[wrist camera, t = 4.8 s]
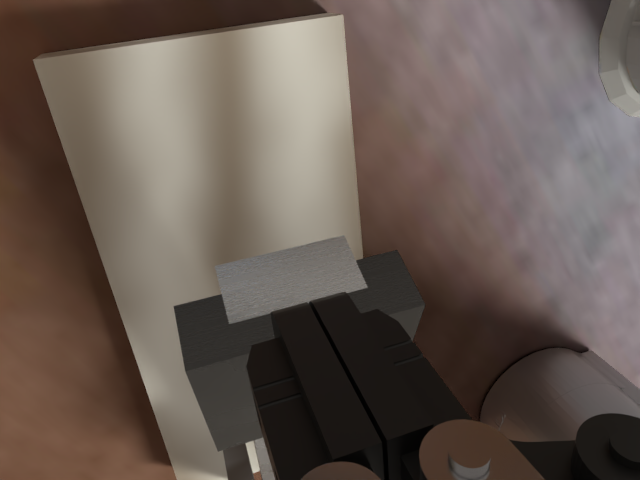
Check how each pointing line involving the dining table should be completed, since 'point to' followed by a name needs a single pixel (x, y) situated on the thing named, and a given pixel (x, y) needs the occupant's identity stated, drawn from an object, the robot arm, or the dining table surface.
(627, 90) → the french press
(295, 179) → the press base
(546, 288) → the dining table surface
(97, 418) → the dining table surface
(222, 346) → the lever
